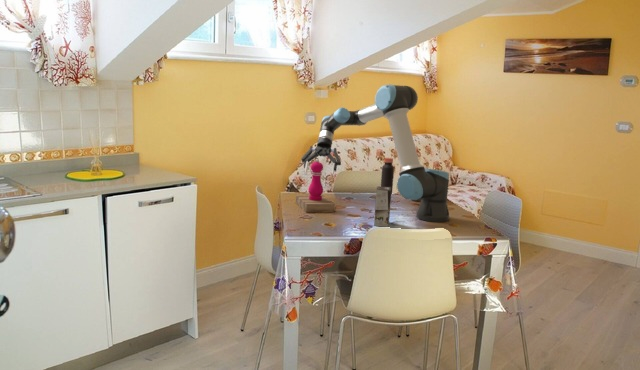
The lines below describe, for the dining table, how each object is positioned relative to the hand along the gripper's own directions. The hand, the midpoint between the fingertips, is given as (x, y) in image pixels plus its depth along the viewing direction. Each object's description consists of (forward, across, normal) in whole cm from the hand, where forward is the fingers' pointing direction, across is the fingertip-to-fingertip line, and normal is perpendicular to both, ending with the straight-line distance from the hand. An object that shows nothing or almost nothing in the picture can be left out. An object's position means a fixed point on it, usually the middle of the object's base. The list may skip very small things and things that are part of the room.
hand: (318, 173), depth 263 cm
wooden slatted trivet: (+17, 0, -5) cm, 18 cm away
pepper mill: (+14, 0, -2) cm, 14 cm away
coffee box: (+32, -34, +10) cm, 48 cm away
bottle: (-21, -33, -43) cm, 57 cm away
